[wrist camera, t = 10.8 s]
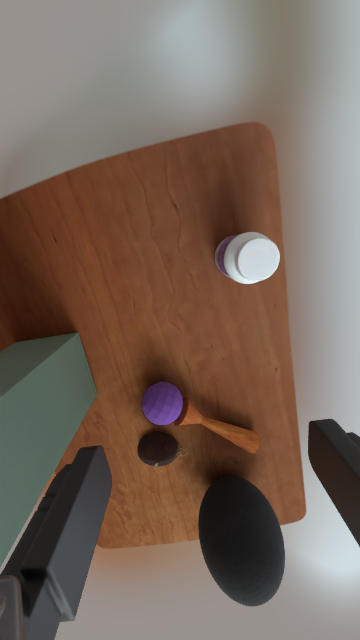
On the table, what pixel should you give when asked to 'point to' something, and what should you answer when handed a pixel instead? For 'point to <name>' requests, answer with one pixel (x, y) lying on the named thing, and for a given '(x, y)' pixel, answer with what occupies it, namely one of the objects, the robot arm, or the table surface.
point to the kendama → (191, 415)
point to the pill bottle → (247, 257)
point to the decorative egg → (241, 541)
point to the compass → (158, 449)
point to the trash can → (37, 420)
